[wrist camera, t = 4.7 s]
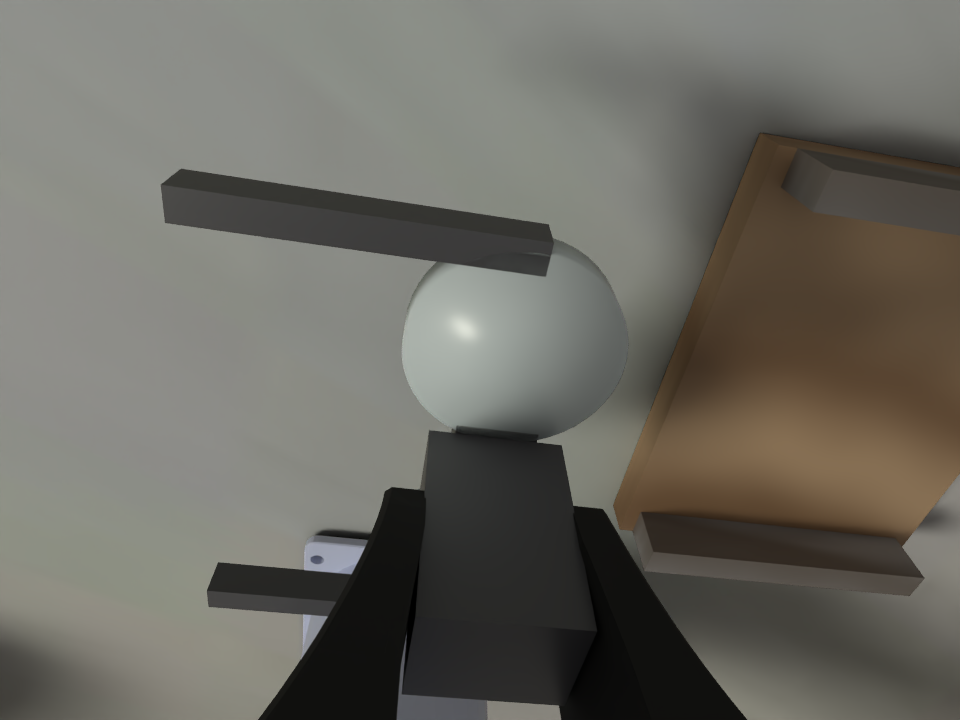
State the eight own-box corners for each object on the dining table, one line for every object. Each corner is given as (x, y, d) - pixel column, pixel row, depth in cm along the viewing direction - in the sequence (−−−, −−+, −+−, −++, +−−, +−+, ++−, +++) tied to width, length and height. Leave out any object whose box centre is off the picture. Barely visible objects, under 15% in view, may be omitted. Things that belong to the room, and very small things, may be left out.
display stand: (877, 532, 25) (922, 597, 23) (613, 505, 24) (630, 569, 22) (1126, 196, 18) (1233, 237, 15) (759, 133, 17) (811, 166, 14)
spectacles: (529, 605, 16) (550, 819, 12) (219, 578, 16) (134, 798, 12) (650, 239, 11) (758, 412, 7) (181, 168, 10) (-8, 318, 6)
